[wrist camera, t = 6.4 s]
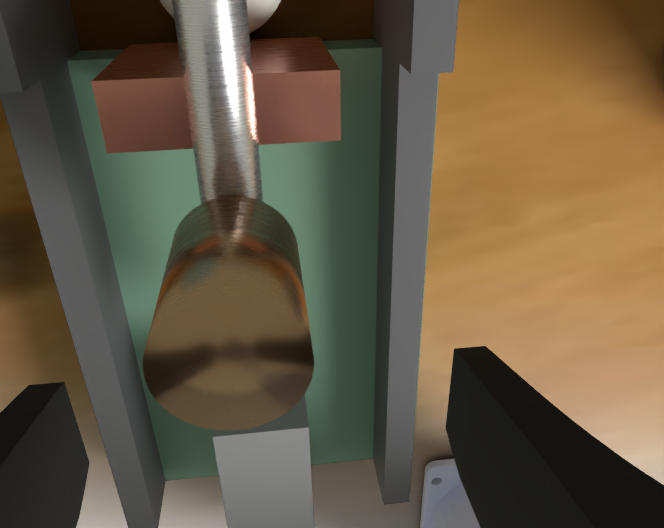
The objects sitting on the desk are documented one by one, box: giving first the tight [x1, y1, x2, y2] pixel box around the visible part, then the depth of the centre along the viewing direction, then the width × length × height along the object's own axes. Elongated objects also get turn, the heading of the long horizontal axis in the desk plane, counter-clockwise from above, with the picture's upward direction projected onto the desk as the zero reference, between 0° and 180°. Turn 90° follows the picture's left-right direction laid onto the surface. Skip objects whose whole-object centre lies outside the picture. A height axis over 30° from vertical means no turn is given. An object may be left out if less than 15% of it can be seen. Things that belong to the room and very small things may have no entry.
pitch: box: [0, 0, 459, 528], centre depth 18 cm, size 24×12×5 cm, turn 1°
